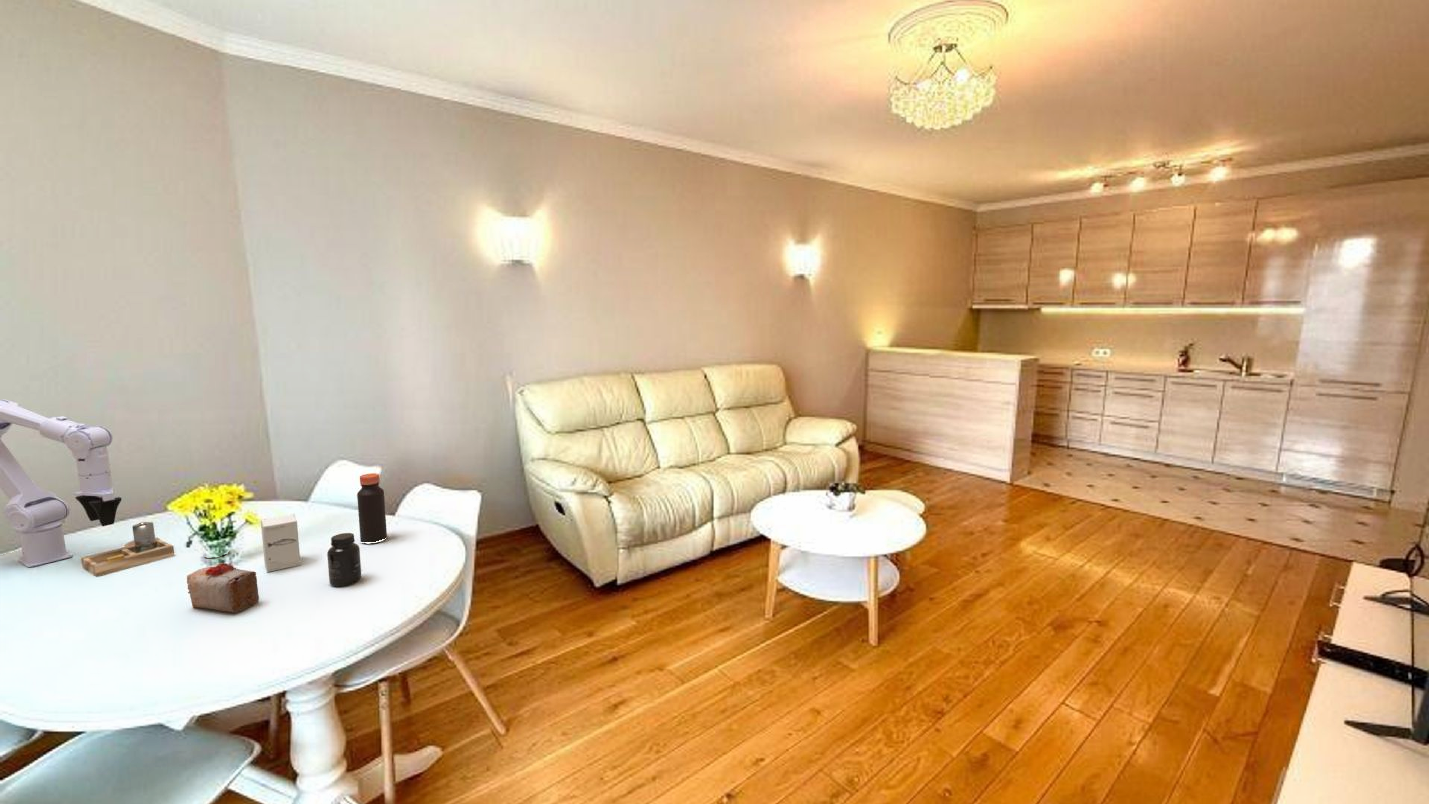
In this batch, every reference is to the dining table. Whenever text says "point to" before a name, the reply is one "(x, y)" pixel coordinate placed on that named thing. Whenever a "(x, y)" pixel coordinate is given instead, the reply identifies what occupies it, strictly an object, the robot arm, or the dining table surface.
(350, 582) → the supplement bottle
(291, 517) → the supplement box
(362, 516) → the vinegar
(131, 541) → the dish
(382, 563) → the dining table surface
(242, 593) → the food item
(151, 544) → the cell
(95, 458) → the robot arm
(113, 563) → the board
